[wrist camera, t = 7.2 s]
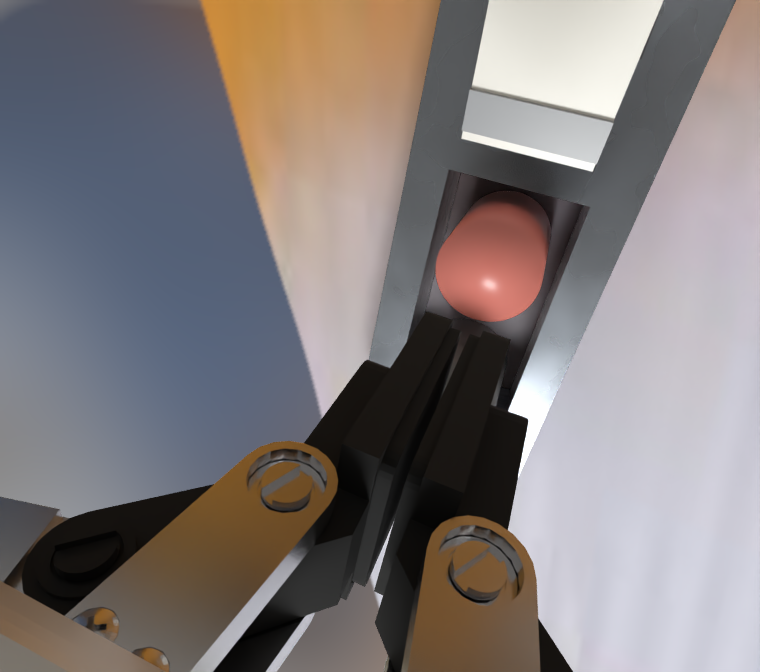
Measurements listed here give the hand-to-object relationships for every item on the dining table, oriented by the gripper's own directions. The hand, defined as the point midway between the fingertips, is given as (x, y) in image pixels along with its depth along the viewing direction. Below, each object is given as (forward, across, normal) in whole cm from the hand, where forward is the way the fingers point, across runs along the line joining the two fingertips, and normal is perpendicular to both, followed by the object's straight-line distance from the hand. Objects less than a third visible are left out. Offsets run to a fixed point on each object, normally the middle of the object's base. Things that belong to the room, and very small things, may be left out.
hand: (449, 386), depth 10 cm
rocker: (+8, 0, -6) cm, 10 cm away
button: (+13, +1, +1) cm, 13 cm away
